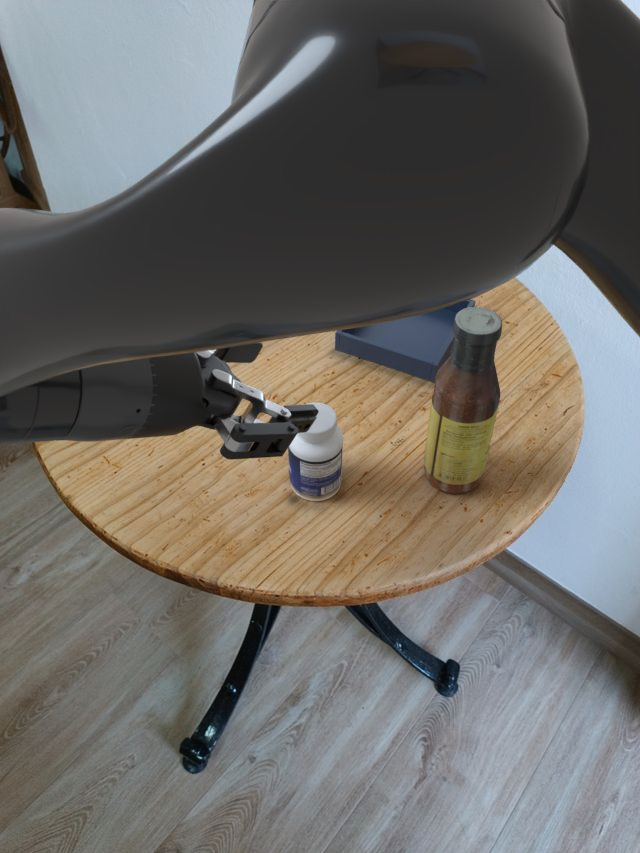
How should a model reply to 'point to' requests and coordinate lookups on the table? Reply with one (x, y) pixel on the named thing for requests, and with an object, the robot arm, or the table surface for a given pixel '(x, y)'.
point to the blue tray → (406, 341)
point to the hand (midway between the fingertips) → (283, 382)
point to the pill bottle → (317, 457)
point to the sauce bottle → (464, 404)
